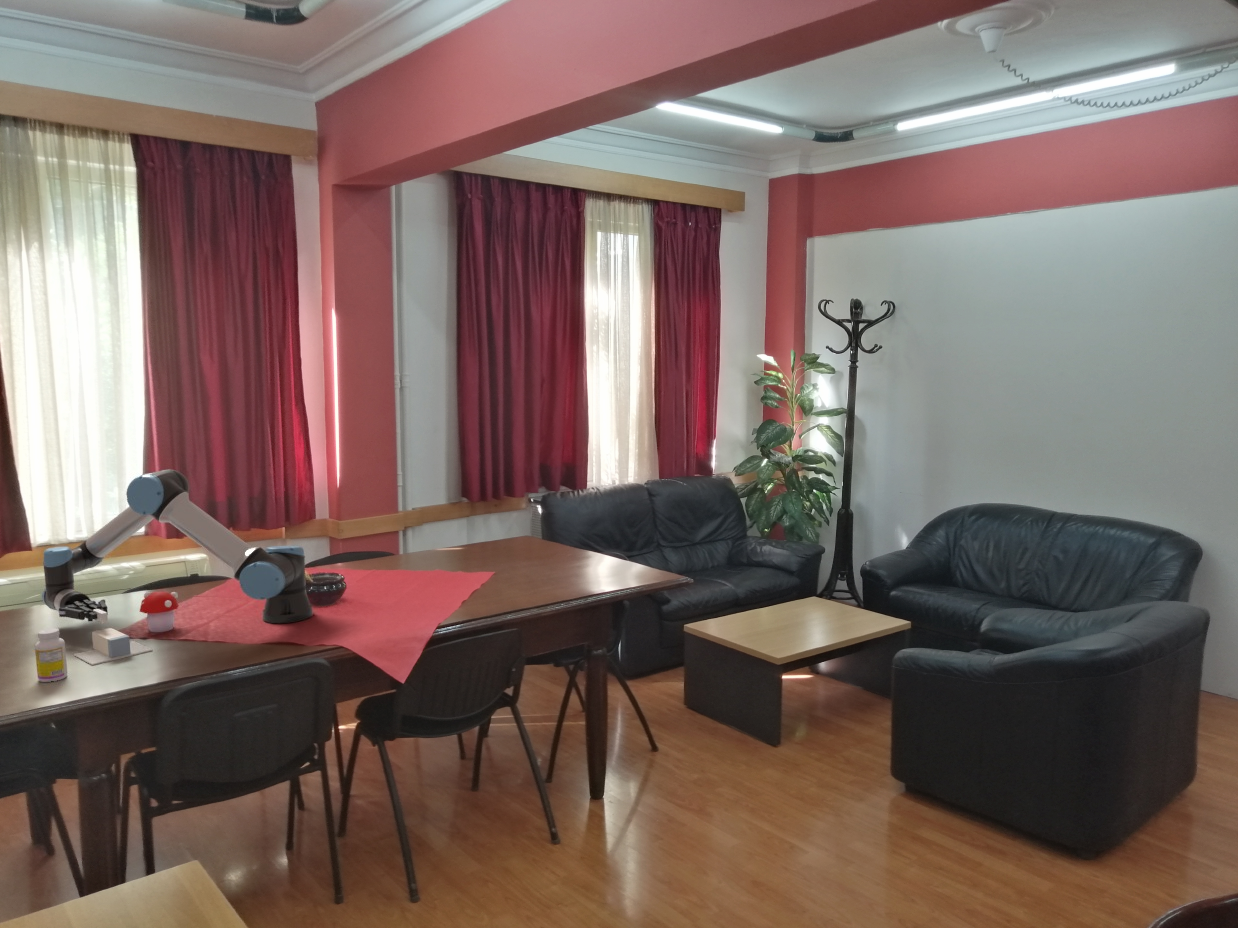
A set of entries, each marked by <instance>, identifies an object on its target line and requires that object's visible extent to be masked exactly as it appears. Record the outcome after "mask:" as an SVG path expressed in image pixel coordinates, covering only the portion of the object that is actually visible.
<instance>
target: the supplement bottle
mask: <svg viewBox="0 0 1238 928" xmlns="http://www.w3.org/2000/svg"><path fill="white" fill-rule="evenodd" d="M60 634H61V633H60V629H59V628H46V629H41V630H39V631H38V633H37V635H38V638H39V640H38V641H37V642H36V643H35V645H34V652H35V661H36V673H37V680H38V681H39V682H41V683H52V682H51V681H54V682H58V681H61V680H64V679H65V678H66V677H67V676H68V665H67V654H66V652H67V651H66V642H65V640H64V639H63V638H61V637H60ZM57 680H58V681H57Z"/></svg>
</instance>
